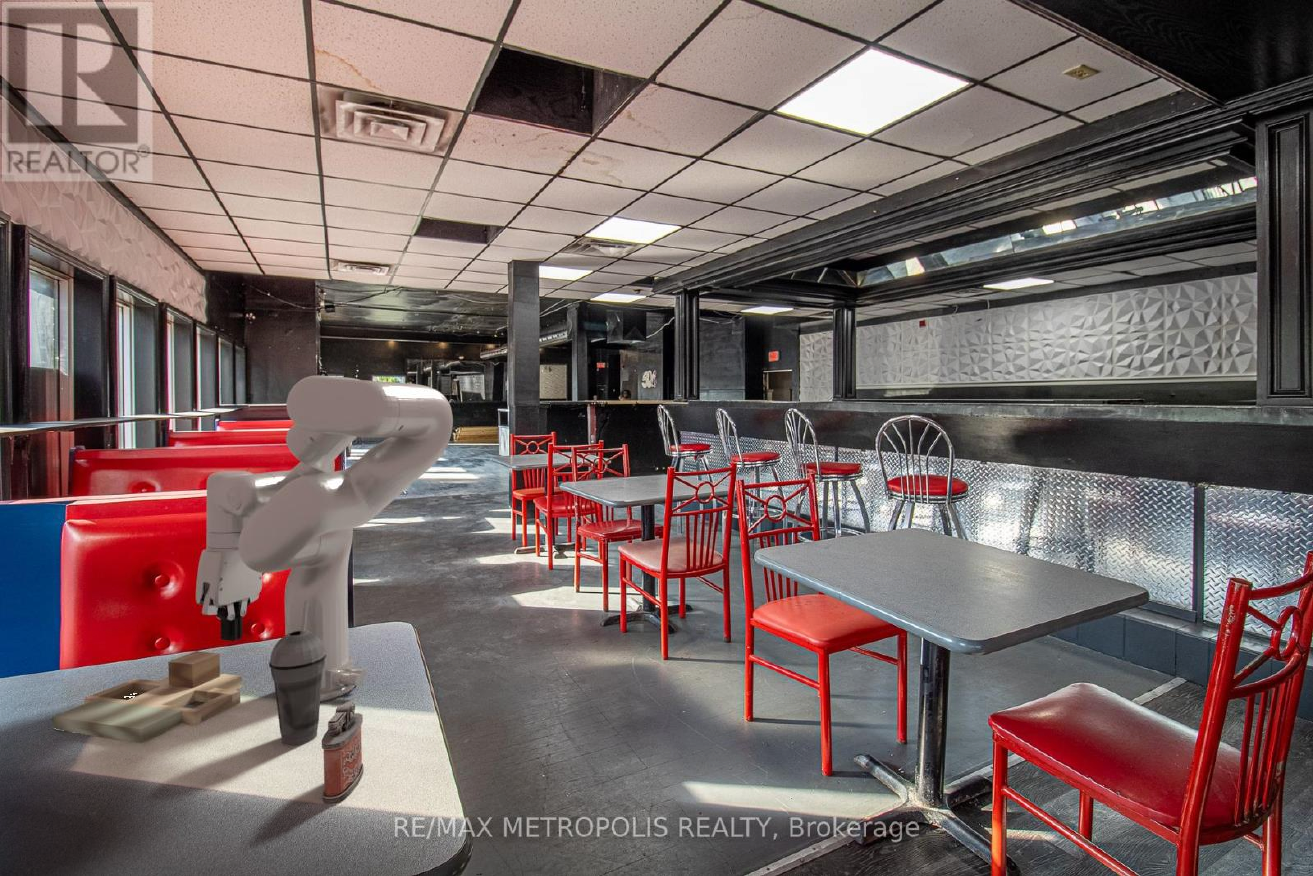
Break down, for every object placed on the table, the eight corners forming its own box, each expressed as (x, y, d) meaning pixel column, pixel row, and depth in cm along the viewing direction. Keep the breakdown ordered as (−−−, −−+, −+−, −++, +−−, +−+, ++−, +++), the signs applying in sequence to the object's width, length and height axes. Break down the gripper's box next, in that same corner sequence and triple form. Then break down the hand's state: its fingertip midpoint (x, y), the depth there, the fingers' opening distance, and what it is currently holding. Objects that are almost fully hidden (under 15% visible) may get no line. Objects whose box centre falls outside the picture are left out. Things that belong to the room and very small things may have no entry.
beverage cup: (274, 731, 95) (271, 598, 95) (329, 722, 98) (327, 592, 98) (266, 755, 89) (263, 611, 88) (325, 744, 92) (323, 605, 91)
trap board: (265, 690, 110) (265, 678, 110) (155, 745, 92) (155, 731, 92) (164, 678, 115) (164, 667, 115) (40, 728, 97) (40, 715, 97)
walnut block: (220, 676, 111) (219, 653, 111) (192, 688, 106) (192, 664, 106) (196, 674, 112) (196, 651, 112) (169, 685, 107) (168, 661, 107)
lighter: (342, 769, 85) (341, 694, 85) (369, 768, 85) (367, 693, 85) (316, 805, 77) (314, 723, 77) (345, 804, 77) (343, 722, 77)
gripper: (249, 530, 125) (249, 623, 125) (175, 545, 110) (175, 651, 111) (282, 533, 123) (281, 628, 124) (211, 549, 108) (210, 656, 109)
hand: (231, 638), depth 117 cm, fingers closed
